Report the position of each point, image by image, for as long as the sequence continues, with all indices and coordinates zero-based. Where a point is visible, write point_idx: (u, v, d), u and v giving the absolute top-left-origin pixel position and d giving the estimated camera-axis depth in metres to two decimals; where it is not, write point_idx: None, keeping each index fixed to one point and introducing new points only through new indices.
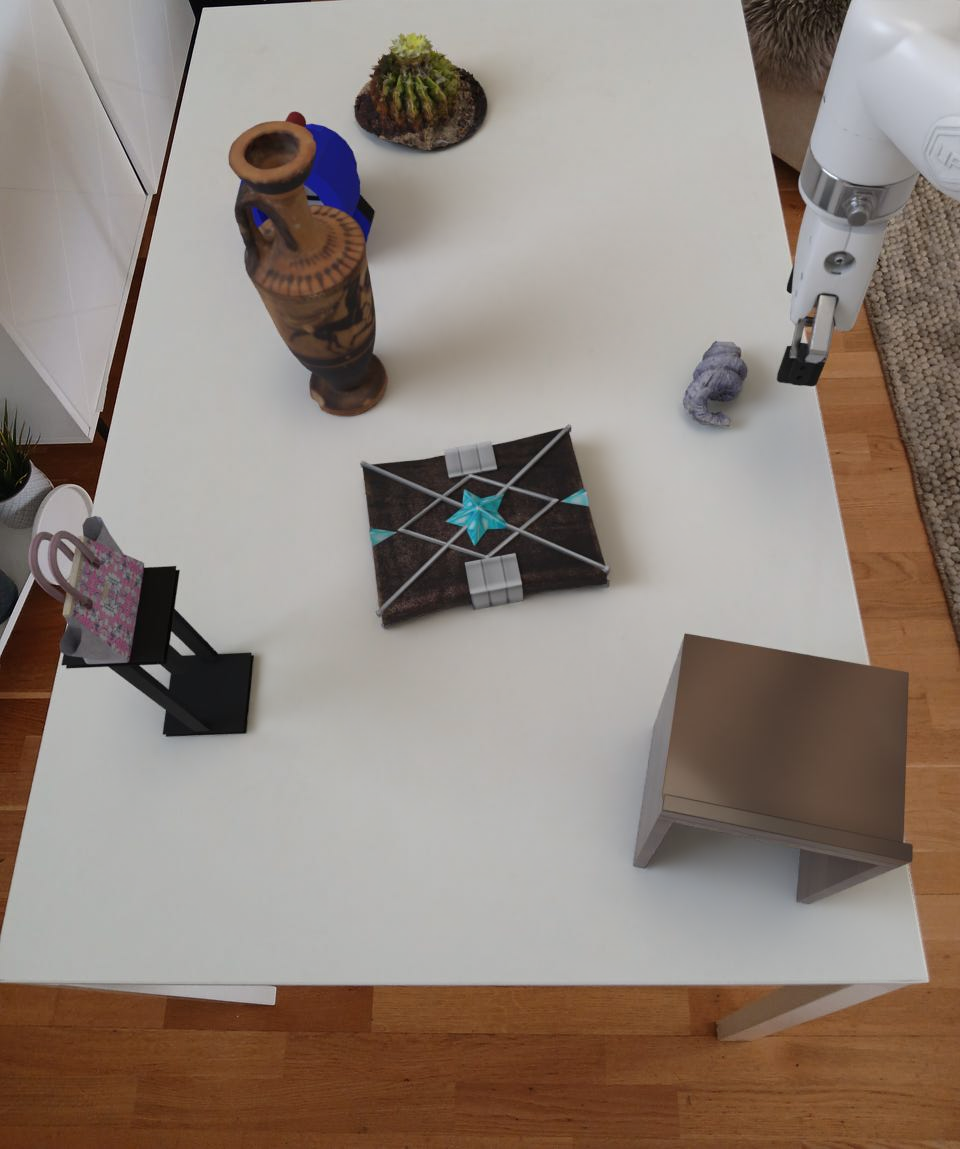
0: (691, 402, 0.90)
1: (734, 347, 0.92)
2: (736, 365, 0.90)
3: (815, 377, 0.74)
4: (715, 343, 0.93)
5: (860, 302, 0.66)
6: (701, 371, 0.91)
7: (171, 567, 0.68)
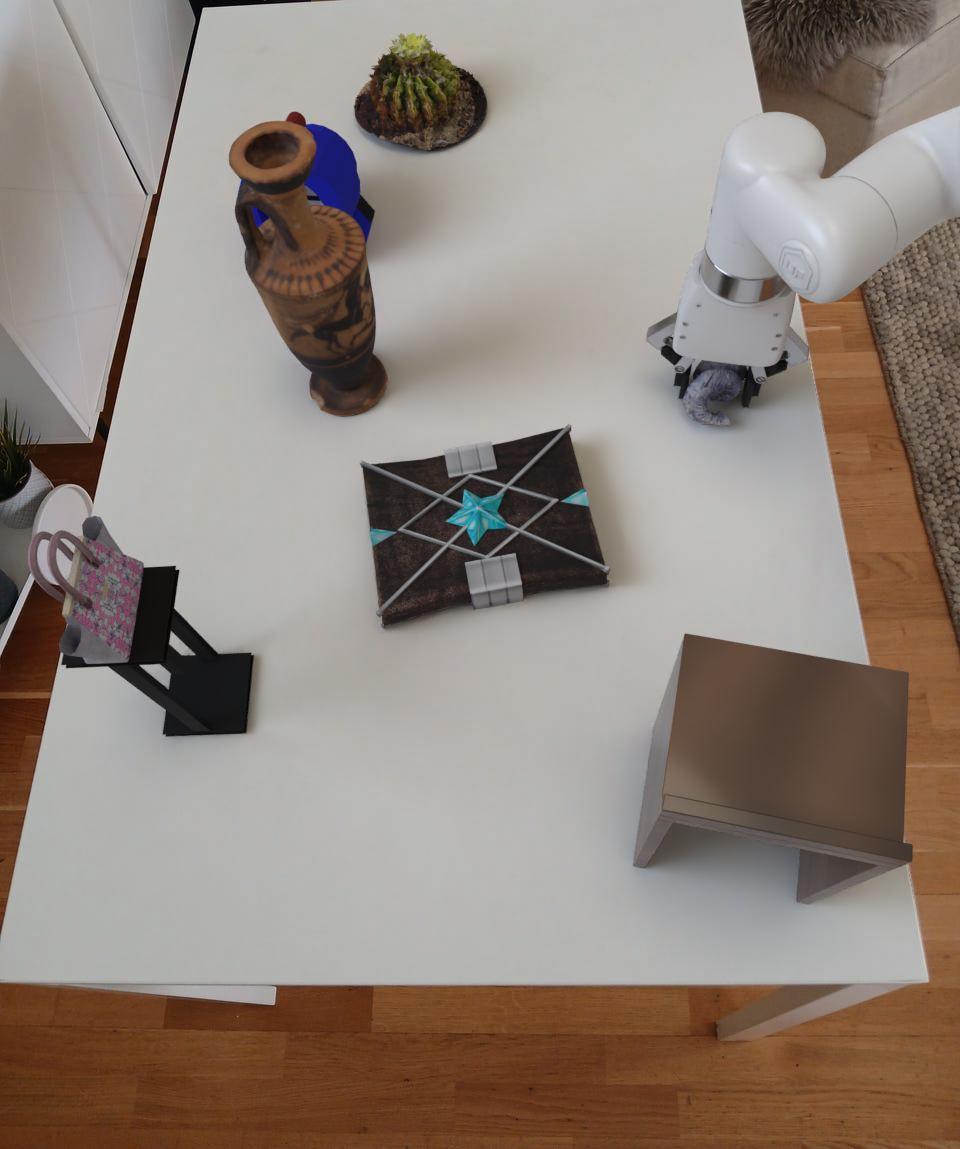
0: (691, 402, 0.90)
1: None
2: (736, 365, 0.90)
3: None
4: None
5: None
6: (701, 371, 0.91)
7: (171, 567, 0.68)
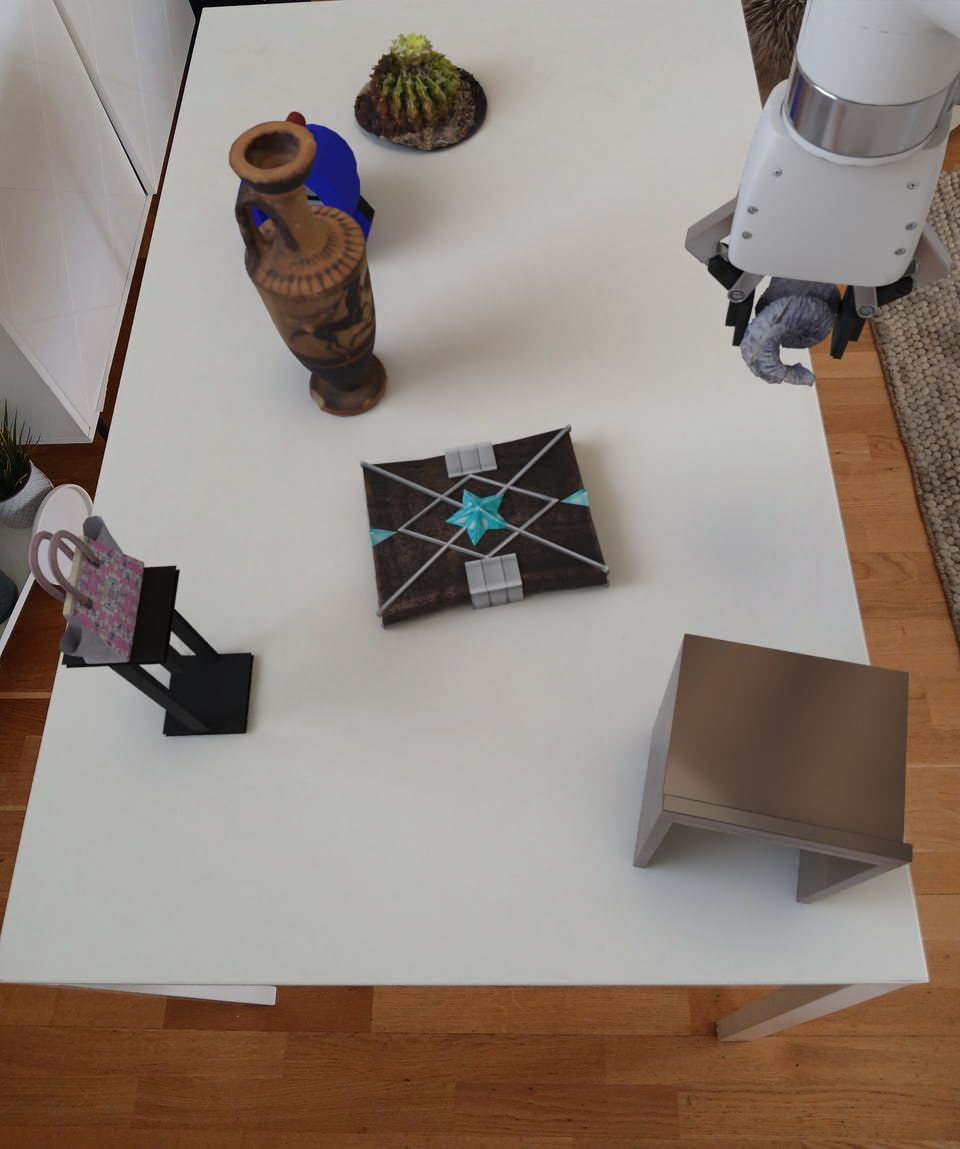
0: (754, 348, 0.57)
1: None
2: (826, 290, 0.57)
3: None
4: None
5: None
6: (769, 301, 0.58)
7: (171, 567, 0.68)
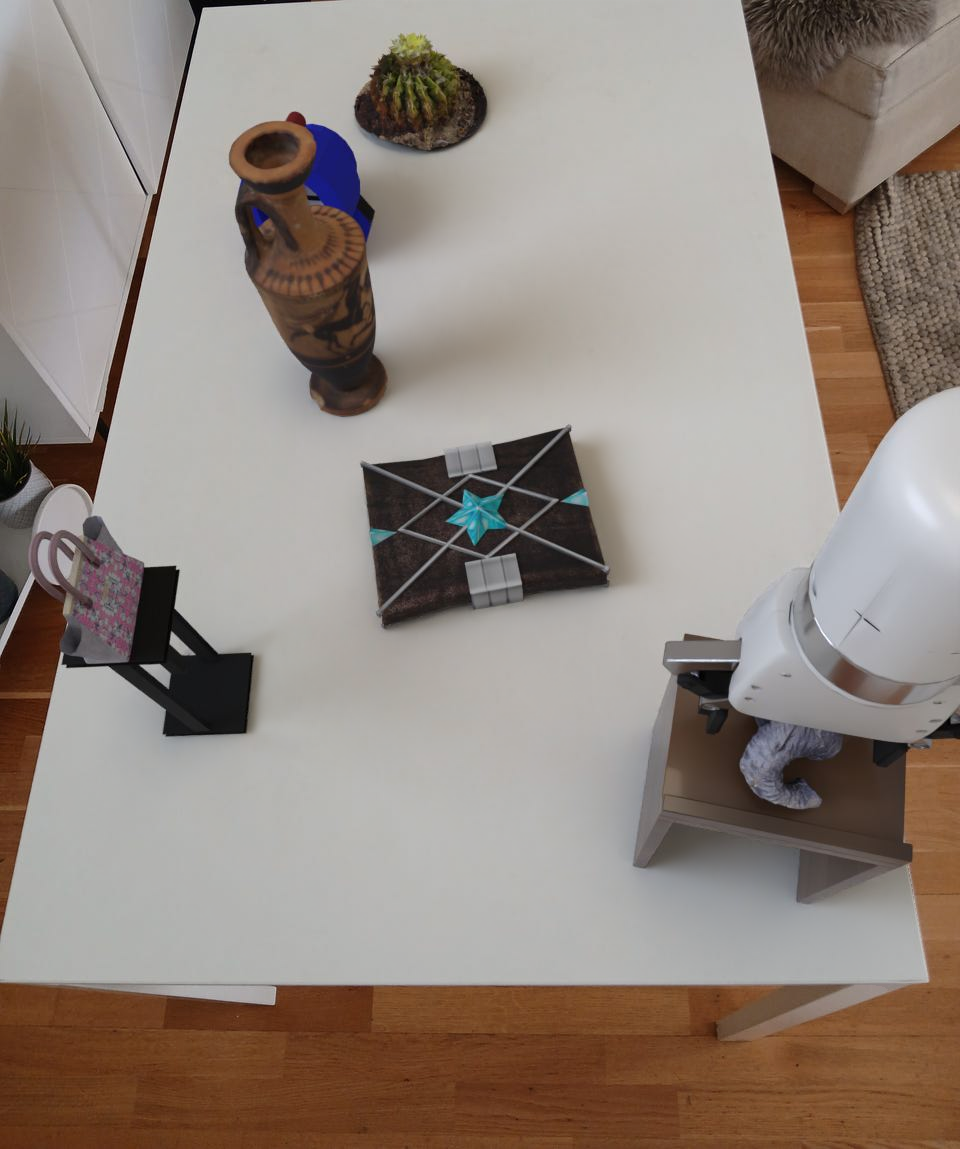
0: (755, 775, 0.52)
1: None
2: None
3: None
4: None
5: None
6: None
7: (171, 567, 0.68)
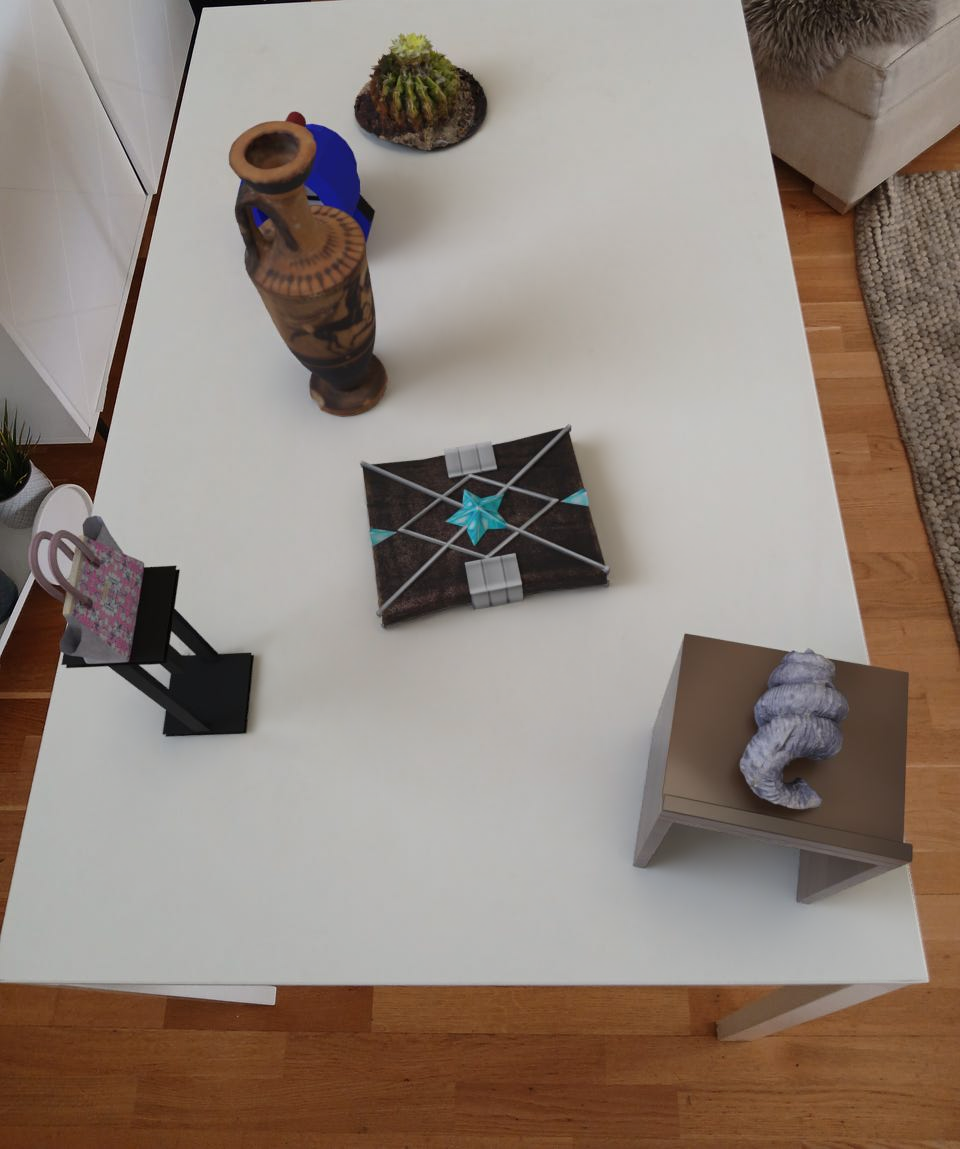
0: (755, 775, 0.52)
1: (825, 666, 0.54)
2: (832, 708, 0.52)
3: None
4: (791, 655, 0.55)
5: None
6: (770, 712, 0.53)
7: (171, 567, 0.68)
